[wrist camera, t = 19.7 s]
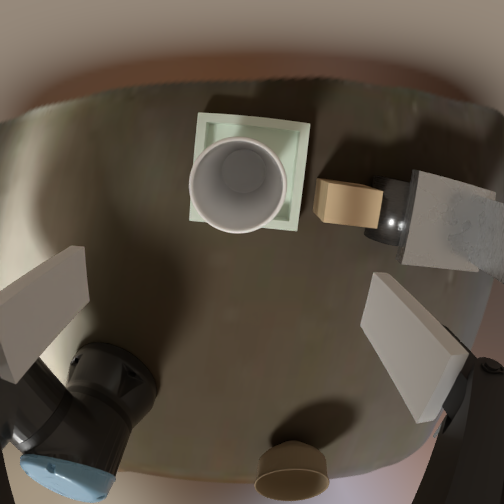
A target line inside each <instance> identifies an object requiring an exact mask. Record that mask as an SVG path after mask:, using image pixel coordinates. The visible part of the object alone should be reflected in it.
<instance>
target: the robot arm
mask: <svg viewBox="0 0 504 504" xmlns="http://www.w3.org/2000/svg"><path fill="white" fill-rule="evenodd" d="M89 301H90V299H89V291H88V282H87V272H86V260H85V247H82V246H72V245H71V246H69V247H68V248H66V249H64V250H63V251H61V252H60V253H58V254H56V255H55V256H53V257H51V258H50V259H48V260H47V261H45V262H43V263H42V264H40V265H39V266H37V267H36V268H34V269H33V270H31V271H29V272H28V273H26V274H25V275H23V276H22V277H20V278H19V279H17V280H16V281H14V282H13V283H11V284H10V285H9V286H7V287H6V288H4V289H3V290H1V291H0V504H15V502H14V498H13V495H12V491H11V488H10V484H9V480H8V476H7V472H6V467H5V463H4V458H3V453H2V450H3V448H4V447H5V446H6V445H7V443H8V442H11V443H12V444H13V445H14V446H16V448H18V449H19V450H20V451H21V452H22V453H23V455H22V456H21V457H20V465H21V467H22V469H23V470H24V471H25V472H26V474H27V475H29V476H30V477H31V478H32V479H33V480H35V481H36V482H38V483H40V484H41V485H43V486H44V487H46V488H48V489H50V490H52V491H54V492H56V493H58V494H60V495H62V496H65V497H68V498H71V499H74V500H78V501H83V502H90V503H94V502H99V501H102V500H104V499H105V498H106V497H107V495H108V493H109V491H110V489H111V487H112V485H113V482H115V480H116V478H115V476H116V473H117V470H118V467H119V465H120V462H121V459H122V456H123V453H124V450H125V447H126V445H127V442H128V439H129V436H130V433H131V431H132V429H133V428H134V427H135V426H136V425H137V424H138V423H139V422H140V421H141V420H142V419H143V418H144V416H145V415H146V414H147V413H148V412H149V411H150V410H151V408H152V406H153V404H154V401H155V398H156V394H157V388H156V384H155V381H154V378H153V376H152V375H151V373H150V372H149V370H148V369H147V368H146V366H145V365H144V364H143V363H142V362H141V361H140V360H138V359H137V358H136V357H135V356H133V355H132V354H130V353H129V352H127V351H125V350H123V349H121V348H119V347H117V346H114V345H111V344H106V343H90V344H87V345H85V346H83V347H82V348H80V349H79V351H78V352H77V353H76V355H75V356H74V357H73V359H72V361H71V363H70V367H69V372H68V377H67V382H66V387H65V386H64V385H63V384H62V383H61V382H60V381H59V380H58V378H57V377H56V376H55V375H54V374H53V373H52V372H51V370H50V369H49V368H48V367H47V366H46V364H45V363H44V362H43V361H42V360H41V358H40V357H39V356H40V355H41V354H42V353H43V352H44V351H45V349H46V348H47V347H48V346H49V345H50V344H51V343H52V341H53V340H54V339H55V338H56V337H57V336H58V335H59V334H60V332H61V331H62V330H63V329H64V328H65V327H66V326H67V325H68V324H69V323H70V322H71V320H72V319H73V318H74V317H75V316H76V315H77V314H78V313H79V312H80V311H81V310H82V309H83V308H84V307H85V305H86V304H87V303H88V302H89ZM360 326H361V327H362V329H363V331H364V332H365V334H366V336H367V337H368V339H369V341H370V342H371V344H372V346H373V347H374V349H375V351H376V352H377V354H378V356H379V358H380V359H381V361H382V363H383V364H384V366H385V368H386V370H387V371H388V373H389V375H390V377H391V378H392V380H393V382H394V384H395V385H396V387H397V389H398V391H399V392H400V394H401V396H402V398H403V400H404V401H405V403H406V405H407V407H408V409H409V410H410V412H411V414H412V416H413V418H414V420H415V421H416V423H422V422H427V421H432V420H435V418H436V417H437V415H438V413H439V411H440V410H441V408H442V407H443V408H444V410H445V411H446V413H447V415H446V416H445V418H444V420H443V421H442V423H441V424H440V426H439V428H438V429H437V431H436V432H435V434H434V435H433V437H434V438H435V437H436V436H437V434H438V437H437V440H436V443H435V446H434V449H433V452H432V455H431V457H430V460H429V463H428V466H427V468H426V471H425V473H424V476H423V479H422V481H421V483H420V486H419V488H418V490H417V493H416V495H415V498H414V500H413V502H412V504H504V367H503V366H502V365H501V364H500V363H498V362H497V361H495V360H493V359H490V358H486V357H482V358H481V357H480V358H478V359H477V358H476V357H475V356H474V355H473V354H472V352H471V351H470V350H469V349H468V348H467V347H466V346H465V345H464V344H463V343H462V342H460V340H459V339H458V338H457V337H456V336H455V335H454V334H453V333H452V332H451V331H450V330H449V329H448V328H447V327H446V326H444V325H442V324H441V323H439V322H438V321H437V320H436V319H435V318H434V317H433V316H432V315H431V314H430V313H429V312H428V311H427V310H426V309H425V308H424V307H423V306H422V305H421V304H420V303H419V302H418V301H417V300H416V299H415V298H414V297H413V296H412V295H411V294H410V293H409V292H408V291H407V290H406V289H405V288H403V287H402V286H401V285H400V284H399V283H398V282H397V281H396V280H395V279H394V278H393V277H392V276H391V275H390V274H388V273H380V272H373V277H372V281H371V285H370V289H369V293H368V298H367V301H366V305H365V309H364V313H363V317H362V321H361V324H360Z"/></svg>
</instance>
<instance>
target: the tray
mask: <svg viewBox="0 0 504 504" xmlns="http://www.w3.org/2000/svg"><path fill="white" fill-rule="evenodd" d="M309 132H310V124H309V123H303V122H296V121H288V120H281V119H272V118H263V117H254V116H243V115H231V114H216V113H198V119H197V128H196V139H195V149H194V161H193V164H194V163H195V161H196V159H197V158H198V156H199V155H200V154H201V153H202V152H203V151H204V150H205V149H206V148H207V147H208V146H210V145H211V144H213V143H215V142H216V141H219V140H221V139H224V138H229V137H236V136H242V137H249V138H253V139H256V140H258V141H261V142H262V143H264V144H266V145H267V146H268V147H270V148H271V149H272V150H273V151H274V152H275V154H276V155H277V156H278V158H279V159H280V161H281V162H282V164H283V167H284V169H285V173H286V177H287V193H286V197H285V201H284V203H283V206H282V208H281V209H280V211H279V212H278V214H277V215H276V216H275V217H274V218H273V219H272V220H271V221H270V222H269V223H268V224H266V225H265V226H263V227H261V228H271V229H281V230H290V231H297V227H298V220H299V213H300V205H301V198H302V190H303V182H304V174H305V166H306V158H307V149H308V141H309ZM189 221H199V222H206V221H205V220H204V219H203V218H202V217H201V216H200V215H199V214H198V212H197V211H196V209H195V207H194V205H193V203H192V200H191V201H190V218H189Z"/></svg>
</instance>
